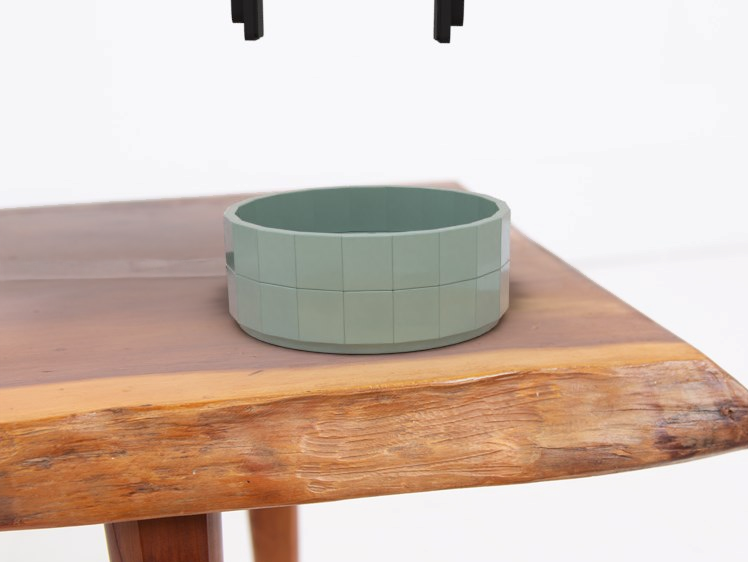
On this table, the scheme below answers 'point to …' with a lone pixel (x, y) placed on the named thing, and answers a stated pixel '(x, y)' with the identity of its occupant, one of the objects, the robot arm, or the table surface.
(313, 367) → the table surface
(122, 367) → the table surface
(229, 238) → the bowl
